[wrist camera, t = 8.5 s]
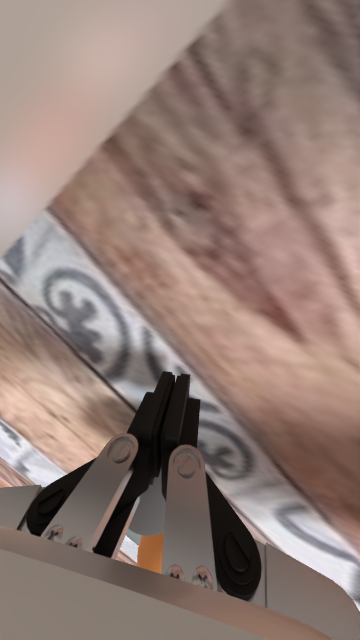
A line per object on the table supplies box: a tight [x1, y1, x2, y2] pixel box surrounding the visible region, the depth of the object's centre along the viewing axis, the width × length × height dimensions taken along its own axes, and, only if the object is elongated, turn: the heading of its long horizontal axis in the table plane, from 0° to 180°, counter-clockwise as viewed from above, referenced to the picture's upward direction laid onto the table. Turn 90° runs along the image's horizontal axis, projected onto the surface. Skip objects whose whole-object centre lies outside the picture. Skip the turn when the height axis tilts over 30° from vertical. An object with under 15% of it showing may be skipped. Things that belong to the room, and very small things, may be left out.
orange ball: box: [137, 533, 164, 574], centre depth 15 cm, size 6×6×6 cm
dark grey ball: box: [128, 470, 166, 536], centre depth 12 cm, size 6×6×6 cm
